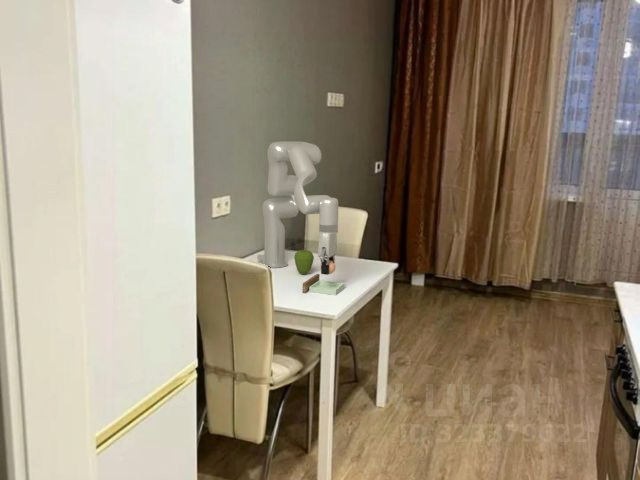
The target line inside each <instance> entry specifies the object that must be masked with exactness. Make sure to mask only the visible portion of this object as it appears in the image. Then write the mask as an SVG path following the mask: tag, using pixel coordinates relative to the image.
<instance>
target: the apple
mask: <svg viewBox="0 0 640 480" xmlns="http://www.w3.org/2000/svg"><path fill="white" fill-rule="evenodd" d="M293 258H294V263H295V267H296V270H297V271H298V273H299V274H300V275H307V274H308V273H309V272H311V269H312V266H313V263H314V260H315V259H314V258H315V256H314V255H313V252H312V251H311V250H308V249H307V250H306V249H300V250H297V251H296V252H295V253H294V257H293Z"/></svg>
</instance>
